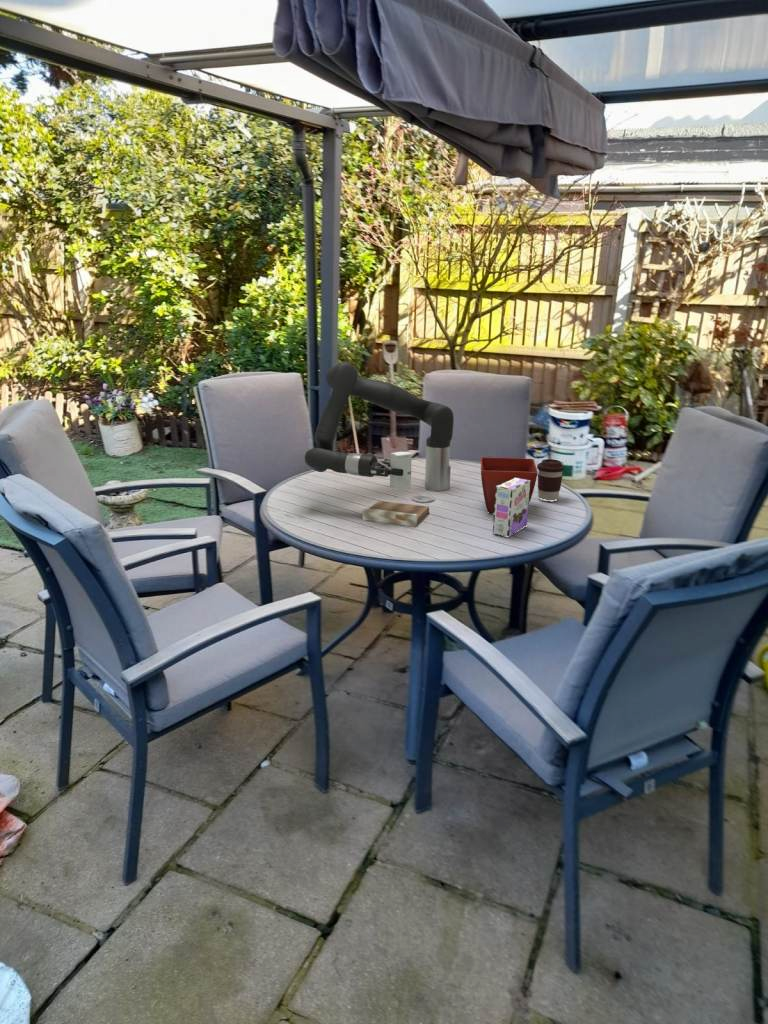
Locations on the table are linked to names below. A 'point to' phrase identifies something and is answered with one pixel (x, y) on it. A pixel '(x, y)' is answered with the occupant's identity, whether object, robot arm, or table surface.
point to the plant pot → (505, 475)
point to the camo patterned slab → (396, 513)
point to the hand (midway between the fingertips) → (406, 470)
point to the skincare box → (401, 462)
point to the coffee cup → (549, 478)
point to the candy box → (511, 506)
